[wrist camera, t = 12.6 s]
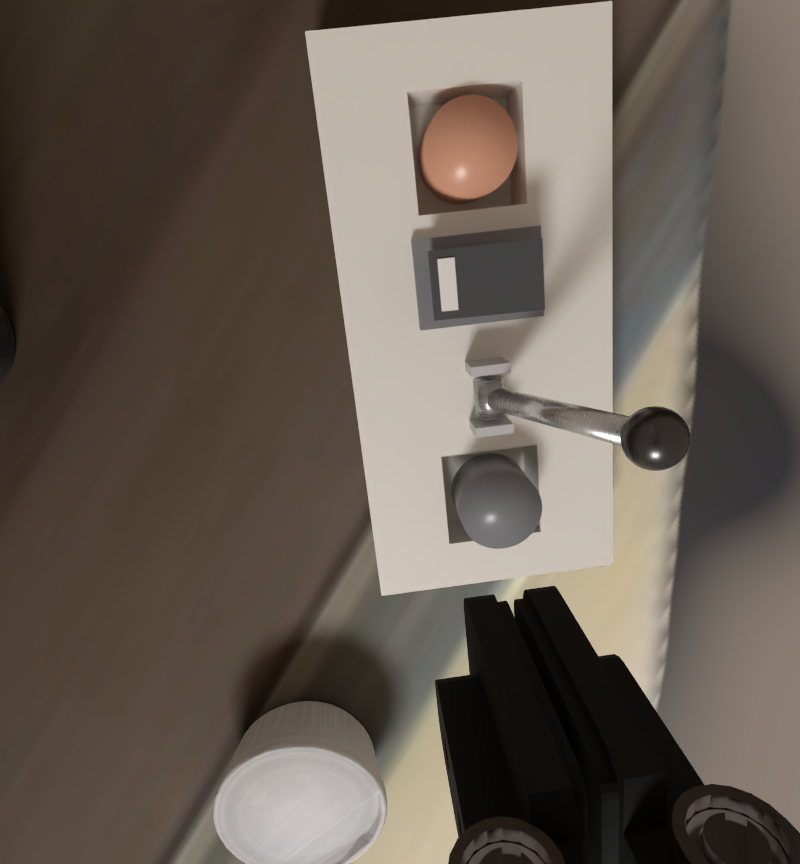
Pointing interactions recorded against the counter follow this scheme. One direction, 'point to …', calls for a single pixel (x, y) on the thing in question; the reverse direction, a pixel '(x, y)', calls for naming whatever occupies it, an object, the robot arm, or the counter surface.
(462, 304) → the black rocker
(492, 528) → the charcoal button
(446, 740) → the robot arm
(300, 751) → the ramekin
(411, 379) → the control panel
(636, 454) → the toggle lever
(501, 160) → the terracotta button
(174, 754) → the counter surface
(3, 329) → the travel mug
